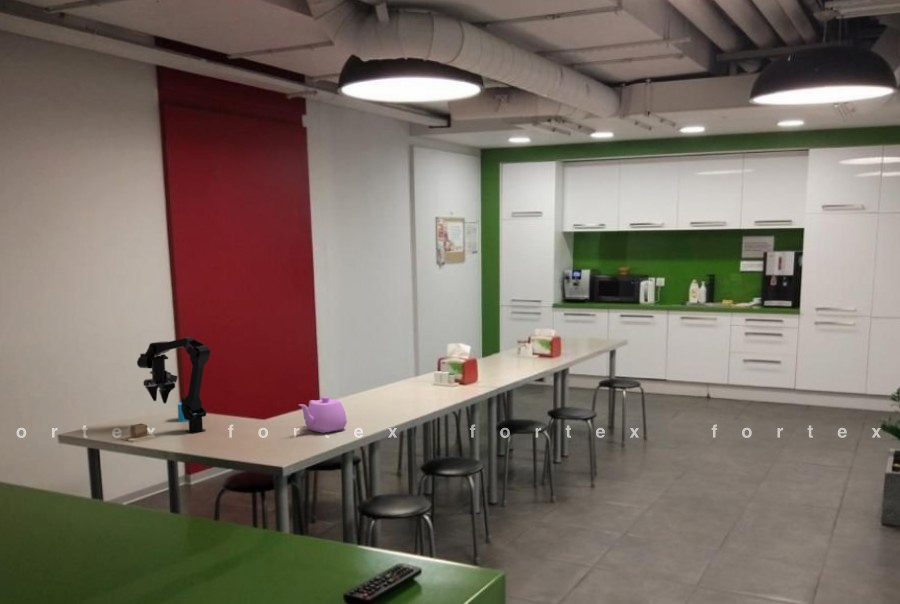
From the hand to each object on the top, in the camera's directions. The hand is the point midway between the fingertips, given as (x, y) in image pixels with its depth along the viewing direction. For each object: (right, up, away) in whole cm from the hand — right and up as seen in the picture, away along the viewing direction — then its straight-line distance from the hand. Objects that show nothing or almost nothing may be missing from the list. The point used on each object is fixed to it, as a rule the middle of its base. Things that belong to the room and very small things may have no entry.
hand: (159, 402), depth 332 cm
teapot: (+78, -12, -9) cm, 80 cm away
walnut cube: (-2, -12, -19) cm, 22 cm away
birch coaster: (-2, -13, -19) cm, 23 cm away
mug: (+7, -11, +18) cm, 23 cm away
